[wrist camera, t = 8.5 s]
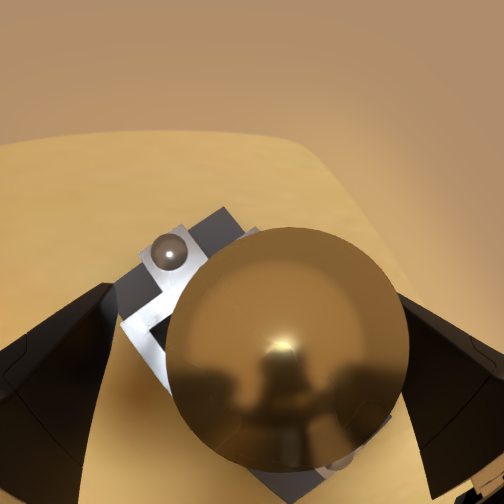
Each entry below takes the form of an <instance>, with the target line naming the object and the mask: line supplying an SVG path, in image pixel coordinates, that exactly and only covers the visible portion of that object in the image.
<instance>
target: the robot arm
mask: <svg viewBox="0 0 504 504" xmlns="http://www.w3.org/2000/svg"><path fill="white" fill-rule="evenodd" d="M397 294H398V297H399V299H400V302H401V304H402V307H403V310H404V313H405V317H406V321H407V327H408V333H409V359H408V367H407V372H406V377H405V381H404V384H403V387H402V390H401V392H402V395H403V398H404V401H405V404H406V407H407V410H408V414H409V417H410V420H411V423H412V426H413V430H414V433H415V436H416V440H417V443H418V447H419V450H420V455H421V458H422V462H423V466H424V470H425V474H426V478H427V482H428V486H429V491H430V495H431V498H432V500H434V499H436V498H438V497H440V496H442V495H444V494H445V493H447V492H449V491H451V490H453V489H454V488H456V487H458V486H460V485H461V484H463V483H465V482H466V481H468V480H470V479H471V482H472V484H473V486H474V487H473V488H471V489H470V490H468V491H467V492H465V493H463V494H462V495H460V496H458V497H457V498H456V500H455V503H454V504H504V354H502V353H500V352H498V351H496V350H494V349H493V348H491V347H489V346H487V345H486V344H484V343H482V342H481V341H479V340H477V339H475V338H474V337H472V336H471V335H469V334H467V333H466V332H464V331H462V330H461V329H459V328H457V327H456V326H454V325H452V324H451V323H449V322H447V321H446V320H444V319H442V318H441V317H439V316H437V315H436V314H434V313H432V312H430V311H429V310H427V309H425V308H424V307H422V306H420V305H418V304H417V303H415V302H413V301H411V300H410V299H408V298H406V297H404V296H403V295H401V294H399V293H397ZM118 311H119V304H118V299H117V294H116V288H115V286H114V284H113V283H100V284H99V285H97V286H96V287H94V288H93V289H91V290H89V291H88V292H86V293H85V294H83V295H82V296H80V297H79V298H77V299H76V300H74V301H73V302H71V303H70V304H68V305H67V306H65V307H64V308H62V309H61V310H59V311H58V312H56V313H55V314H53V315H52V316H50V317H49V318H47V319H46V320H44V321H43V322H41V323H40V324H38V325H37V326H36V327H34V328H33V329H31V330H30V331H28V332H27V334H24V335H23V336H21V337H20V338H19V339H17V340H16V341H14V342H13V343H11V344H10V345H8V346H7V347H6V348H4V349H2V350H1V351H0V504H78V498H79V490H80V483H81V477H82V470H83V468H82V467H83V463H84V458H85V452H86V447H87V442H88V437H89V432H90V428H91V423H92V419H93V415H94V410H95V406H96V402H97V398H98V394H99V390H100V387H101V383H102V379H103V376H104V372H105V369H106V365H107V362H108V358H109V355H110V351H111V346H112V341H113V336H114V331H115V326H116V321H117V316H118Z"/></svg>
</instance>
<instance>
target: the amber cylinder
mask: <svg viewBox="0 0 504 504" xmlns="http://www.w3.org/2000/svg"><path fill="white" fill-rule="evenodd" d="M408 359H409V333H408V327H407V321H406V317H405V313H404V310H403V307H402V304H401V302H400V299H399V297H398V294H397V292H396V291H395V289H394V287H393V285H392V284H391V282H390V280H389V279H388V277H387V276H386V275H385V273H384V272H383V271H382V269H381V268H380V267H379V266H378V265H377V264H376V263H375V262H374V261H373V260H372V259H371V258H370V257H369V256H368V255H366V254H365V253H364V252H363V251H361V250H360V249H359V248H357V247H355V246H354V245H352V244H351V243H349V242H347V241H345V240H343V239H341V238H339V237H337V236H334V235H332V234H328V233H325V232H322V231H318V230H313V229H307V228H293V227H287V228H275V229H269V230H265V231H260V232H256V233H254V234H251V235H248V236H245V237H243V238H240V239H238V240H237V241H235V242H233V243H231V244H229V245H227V246H226V247H224V248H223V249H221V250H220V251H218V252H217V253H216V254H214V255H213V256H212V257H211V258H210V259H208V260H207V261H206V262H205V263H204V264H203V265H202V266H201V267H200V268H199V269H198V270H197V272H196V273H195V274H194V275H193V277H192V278H191V279H190V280H189V282H188V283H187V285H186V286H185V288H184V290H183V291H182V293H181V295H180V296H179V299H178V301H177V303H176V305H175V308H174V310H173V312H172V316H171V319H170V323H169V327H168V331H167V338H166V346H165V365H166V371H167V378H168V383H169V386H170V390H171V393H172V396H173V399H174V401H175V403H176V406H177V408H178V410H179V412H180V414H181V416H182V417H183V419H184V420H185V421H186V423H187V424H188V426H189V427H190V429H191V430H192V431H193V432H194V433H195V434H196V435H197V436H198V438H199V439H200V440H201V441H202V442H203V443H205V444H206V445H207V446H208V447H209V448H211V449H212V450H213V451H214V452H216V453H217V454H219V455H221V456H223V457H224V458H226V459H228V460H229V461H231V462H234V463H236V464H239V465H241V466H244V467H246V468H250V469H254V470H258V471H263V472H271V473H296V472H303V471H309V470H313V469H317V468H320V467H323V466H326V465H329V464H331V463H333V462H336V461H338V460H340V459H342V458H344V457H345V456H347V455H349V454H350V453H352V452H354V451H355V450H356V449H357V448H359V447H360V446H361V445H363V444H364V443H365V442H366V441H367V440H368V439H369V438H370V437H371V436H372V435H373V434H374V433H375V432H376V431H377V430H378V429H379V428H380V427H381V425H382V424H383V423H384V422H385V420H386V419H387V417H388V416H389V414H390V412H391V411H392V409H393V408H394V406H395V404H396V401H397V399H398V397H399V395H400V393H401V390H402V387H403V384H404V381H405V377H406V372H407V367H408Z"/></svg>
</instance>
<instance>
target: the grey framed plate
mask: <svg viewBox="0 0 504 504" xmlns="http://www.w3.org/2000/svg"><path fill="white" fill-rule="evenodd" d="M256 232H260V231H259V230H258V229H257V227H256V226H255V227H254V228H252V229H251V230H249V231H248V232H247V233H245V234H244V235H242V236H241V237H240V238H243V237H245V236H248V235H251V234H254V233H256ZM240 238H238V239H240ZM238 239H237V240H238ZM237 240H235V241H237ZM235 241H234V242H235ZM232 243H233V242H232ZM138 256H139V257H140V259H141V260H142V262H143V263H144V265H145V266H146V268H147V269H148V271H149V272H150V274H151V275H152V277H153V278H154V280H155V281H156V283H157V284H158V286H159V287H160V288H161V290H162V291H163V293H161V294H160V295H159V296H157V297H156V298H155V299H153V300H152V301H150V302H149V303H148V304H146V305H145V306H144V307H142V308H141V309H140V310H138V311H137V312H136V313H134V314H133V315H131V316H130V317H129V318H127V319H126V320H125V321H123V322H122V323H121V324H120V325H121V327H122V329H123V330H124V332H125V333H126V335H127V336H128V338H129V339H130V340H131V342H132V343H133V345H134V346H135V348H136V349H137V351H138V352H139V353H140V355H141V356H142V358H143V359H144V360H145V362H146V363H147V364H148V366H149V367H150V368H151V370H152V371H153V372H154V374H155V375H156V376H157V378H158V379H159V380H160V382H161V383H162V384H163V385H164V387H165V388H166V389H167V390H168V392H169V393H170V394H171V395H172V393H171V390H170V386H169V383H168V378H167V371H166V365H165V346H166V338H165V336H164V335H163V334H162V331H163V330H165V329H166V328H168V327H169V323H170V319H171V316H172V312H173V310H174V308H175V305H176V303H177V301H178V299H179V296H180V295H181V293H182V291H183V290H184V288H185V286H186V285H187V283H188V282H189V280H190V279H191V278H192V277H193V275H194V274H195V273H196V272H197V270H198V269H199V268H200V267H201V266H202V265H203V264H204V263H205V262H206V261H207V260H208V258H207V257H206V255H205V254H204V253H203V251H202V250H201V249H200V247H199V246H198V245H197V243H196V242H195V241H194V239H193V238H192V237H191V235H190V234H189V233H188V231H187V230H186V229H185V227H184V226H183V224H181V225H179V226H178V227H176V228H175V229H173V230H172V231H170V232H169V233H167V234H164V235H161V236H160V237H158V238H157V239H156V240H155V241H154V243H153V244H152V245H150V246H149V247H147V248H146V249H144V250H143V251H142V252H140V253H139V254H138ZM172 397H173V396H172ZM363 447H364V446H363V445H361V446H360V447H359V448H357V449H356V450H355V451H354V452H352V453H350V454H349V455H347V456H345V457H344V458H342V459H340V460H338V461H336V462H333V463H331V464H329V465H326V466H323V467H320V468H317V469H315V470H316V471H317V472H318V473H319V474H320V475H321V476H323V477H324V478H325V479H326V480H327V479H328V478H329V477H330V476H332V475H333V474H334V473H335V472H336V471H338V470H341V469H343V468H345V467H346V466H347V465H349V464H350V462H351V461H352V459H353V457H354V456H355V455H356V454H357V453H358V452H359V451H360V450H361V449H362V448H363Z"/></svg>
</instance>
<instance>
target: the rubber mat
mask: <svg viewBox="0 0 504 504" xmlns="http://www.w3.org/2000/svg"><path fill="white" fill-rule="evenodd" d="M188 233H189V234H190V235H191V237H192V238H193V239H194V241H195V242H196V243H197V245H198V246H199V247H200V249H201V250H202V251H203V253H204V254H205V255H206V257H207V258H208V259H210V258H211V257H212V256H213V255H214V254H216V253H217V252H218V251H220V250H221V249H223V248H224V247H226V246H227V245H229V244H231V243H232V242H234V241H235V240H237V239H238V238H240V237H241V236H242V235H244V234H245V232H244V231H243V230H242V228H241V227H240V226H239V225H238V223H237V222H236V221H235V220H234V218H233V217H232V216H231V215H230V214H229V212H228V211H227V210H226V209H225V207H222V208H221V209H219V210H218V211H216V212H215V213H213V214H212V215H210V216H209V217H207V218H206V219H204V220H203V221H201V222H200V223H198V224H197V225H195V226H194V227H192V228H191V229H189V230H188ZM113 284H114V286H115V288H116V294H117V299H118V304H119V311H118V313H119V315H120V316H121V318H122V319H123V321H125V320H126V319H127V318H129V317H130V316H131V315H133V314H134V313H136V312H137V311H138V310H140V309H141V308H142V307H144V306H145V305H146V304H148V303H149V302H150V301H152V300H153V299H155V298H156V297H157V296H159V295H160V294H161V293H163V291H162V290H161V288H160V287H159V286H158V284H157V283H156V281H155V280H154V278H153V277H152V275H151V274H150V272H149V271H148V269H147V268H146V266H145V265H144V263H143V262H142V263H141V264H139V265H138V266H137V267H135V268H134V269H132V270H131V271H130V272H128V273H127V274H126V275H124V276H123V277H122V278H120V279H119V280H117V281H116V282H115V283H113ZM167 331H168V328H166V329H165V330H163V331H162V334H163V335H164V336H165V338H167ZM391 418H392V416H391V415H390V414H389V416H388V417H387V419H386V420H385V422H384V423H383V424H382V425H381V427H380V428H379V429H378V430H377V431H376V432H375V433H374V434H373V435H372V436H371V437H370V438H369V439H368V440H367V441H366V442H365V443H364V444H363V446H364V445H365V444H366V443H367V442H368V441H369V440H370V439H371V438H372V437H373V436H374V435H375V434H376V433H377V432H378V431H379V430H380V429H381V428H382V427H383V426H384V425H385V424H386V423H387V422H388V421H389V420H390V419H391ZM247 469H248V470H249V471H250V472H251V473H252V474H253V475H254V476H256V477H257V478H258V479H259V480H260V481H261V482H262V483H263V484H265V485H266V486H267V487H268V488H269V489H270V490H272V491H273V492H274V493H275V494H276V495H277V496H279V497H280V498H281V499H282V500H284V501H285V502H286V503H287V504H293V503H294V502H296V501H297V500H299V499H300V498H301V497H303V496H304V495H306V494H307V493H308V492H310V491H311V490H312V489H314V488H315V487H316V486H318V485H319V484H320V483H321V482H323V481H324V480H325V478H324V477H323V476H321V475H320V474H319V473H318V472H317V471H316V470H315V469H313V470H309V471H303V472H296V473H271V472H263V471H258V470H254V469H250V468H247Z"/></svg>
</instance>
